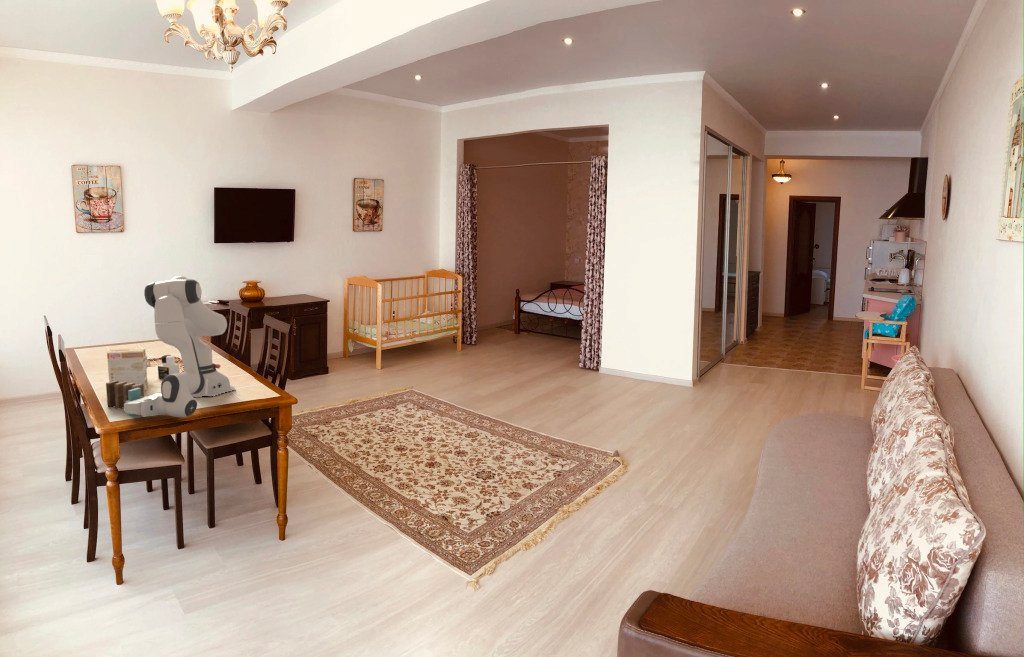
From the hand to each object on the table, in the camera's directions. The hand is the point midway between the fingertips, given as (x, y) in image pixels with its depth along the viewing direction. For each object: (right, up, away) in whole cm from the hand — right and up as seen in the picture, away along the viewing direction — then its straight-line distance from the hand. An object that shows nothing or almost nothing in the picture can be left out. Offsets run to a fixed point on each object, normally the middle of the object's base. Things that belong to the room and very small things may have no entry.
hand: (133, 400), depth 283 cm
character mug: (-27, +3, +53) cm, 59 cm away
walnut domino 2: (-6, -4, +9) cm, 12 cm away
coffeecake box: (-23, +1, +37) cm, 44 cm away
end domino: (-15, -4, +11) cm, 19 cm away
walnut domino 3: (-2, -5, +8) cm, 9 cm away
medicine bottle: (-16, +5, +62) cm, 64 cm away
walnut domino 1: (-11, -4, +10) cm, 15 cm away
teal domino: (+1, -6, +1) cm, 6 cm away
